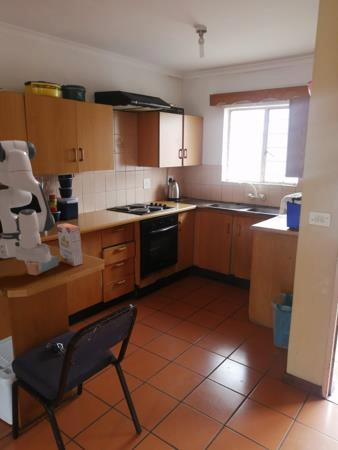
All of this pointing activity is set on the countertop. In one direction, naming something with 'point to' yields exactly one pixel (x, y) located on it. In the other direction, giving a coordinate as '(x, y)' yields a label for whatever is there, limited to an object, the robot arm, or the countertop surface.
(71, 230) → the cracker box
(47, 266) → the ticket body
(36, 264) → the block
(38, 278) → the countertop surface
